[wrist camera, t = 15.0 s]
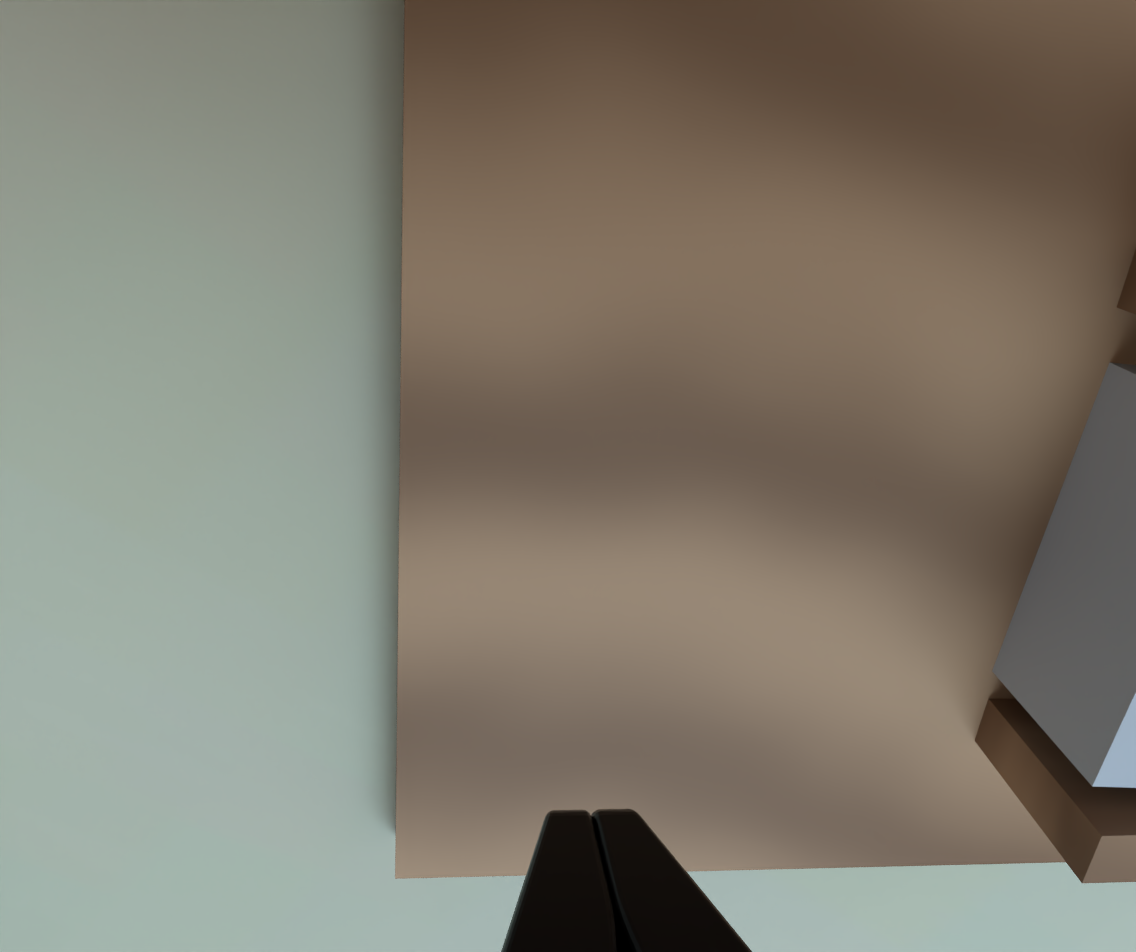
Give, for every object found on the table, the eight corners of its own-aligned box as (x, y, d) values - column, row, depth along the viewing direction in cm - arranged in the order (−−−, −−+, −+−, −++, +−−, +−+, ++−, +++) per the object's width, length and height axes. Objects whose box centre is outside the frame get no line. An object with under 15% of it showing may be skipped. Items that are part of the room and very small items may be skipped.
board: (409, -76, 12) (380, -157, 8) (1826, 79, 15) (2409, 87, 11) (398, 838, 19) (379, 1089, 14) (1394, 819, 22) (1641, 1021, 17)
